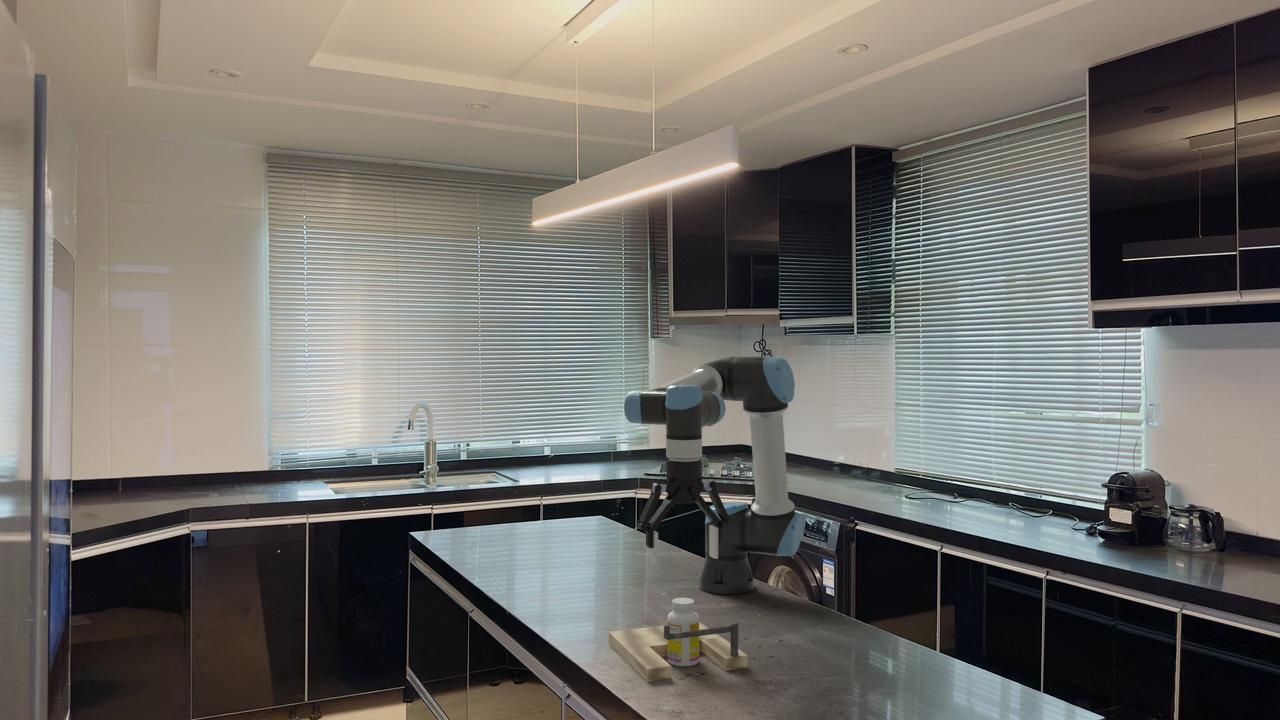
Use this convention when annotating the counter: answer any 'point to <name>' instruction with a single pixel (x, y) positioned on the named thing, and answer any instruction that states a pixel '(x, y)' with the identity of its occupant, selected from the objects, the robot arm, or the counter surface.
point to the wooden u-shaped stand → (652, 644)
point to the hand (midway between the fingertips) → (684, 560)
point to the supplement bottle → (681, 621)
